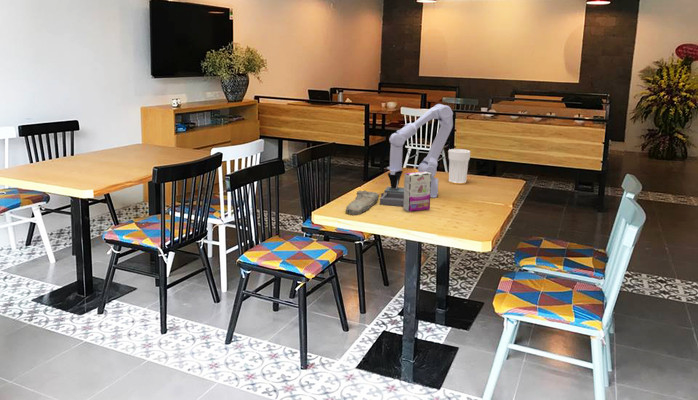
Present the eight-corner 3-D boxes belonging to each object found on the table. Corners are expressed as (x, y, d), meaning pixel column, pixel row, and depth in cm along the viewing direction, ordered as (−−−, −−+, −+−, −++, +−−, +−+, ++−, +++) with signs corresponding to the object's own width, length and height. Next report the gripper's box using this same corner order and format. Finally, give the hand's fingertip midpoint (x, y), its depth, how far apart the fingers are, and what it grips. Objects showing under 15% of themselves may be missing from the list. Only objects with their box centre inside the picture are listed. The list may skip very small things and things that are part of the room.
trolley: (412, 195, 287) (413, 181, 286) (409, 199, 279) (410, 184, 277) (384, 192, 291) (385, 178, 289) (381, 197, 282) (381, 182, 280)
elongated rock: (339, 217, 251) (362, 221, 248) (340, 205, 249) (363, 209, 247) (362, 195, 283) (382, 198, 280) (363, 184, 281) (383, 187, 279)
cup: (471, 182, 321) (473, 150, 317) (463, 186, 311) (465, 153, 307) (451, 179, 327) (453, 148, 322) (443, 183, 317) (445, 150, 313)
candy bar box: (423, 207, 266) (425, 171, 262) (430, 209, 261) (432, 173, 257) (402, 209, 260) (404, 172, 257) (408, 212, 256) (410, 174, 252)
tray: (413, 200, 277) (413, 194, 276) (408, 207, 265) (408, 201, 264) (385, 198, 280) (385, 192, 279) (379, 204, 268) (379, 198, 267)
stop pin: (398, 195, 286) (398, 177, 284) (396, 196, 283) (397, 178, 281) (391, 195, 287) (392, 176, 285) (390, 196, 284) (391, 177, 282)
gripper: (390, 155, 288) (389, 183, 292) (384, 160, 275) (383, 189, 278) (405, 156, 287) (403, 184, 290) (399, 161, 273) (398, 190, 276)
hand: (394, 186), depth 284 cm, fingers open, 5 cm apart
